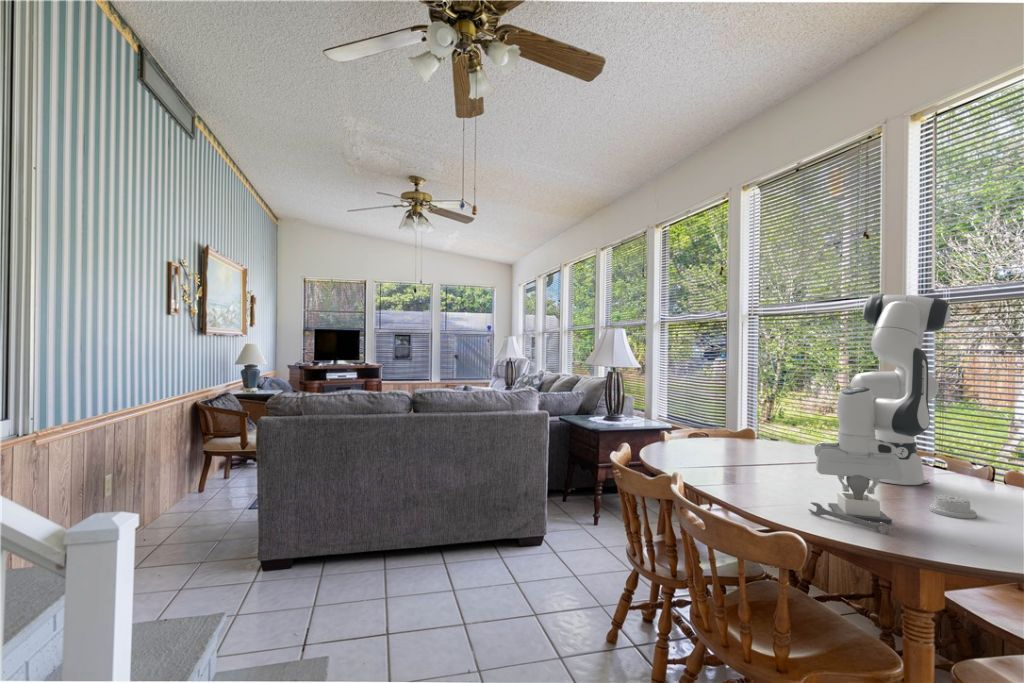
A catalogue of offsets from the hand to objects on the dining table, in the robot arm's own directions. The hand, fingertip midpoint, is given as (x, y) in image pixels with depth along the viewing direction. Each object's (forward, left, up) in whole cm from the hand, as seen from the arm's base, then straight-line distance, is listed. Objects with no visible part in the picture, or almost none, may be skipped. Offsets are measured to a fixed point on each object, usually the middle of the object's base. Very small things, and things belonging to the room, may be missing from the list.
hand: (858, 492), depth 140 cm
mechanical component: (-10, +25, -7) cm, 28 cm away
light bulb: (0, 0, -4) cm, 4 cm away
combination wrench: (+9, -5, -7) cm, 12 cm away
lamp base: (0, 0, -6) cm, 6 cm away
